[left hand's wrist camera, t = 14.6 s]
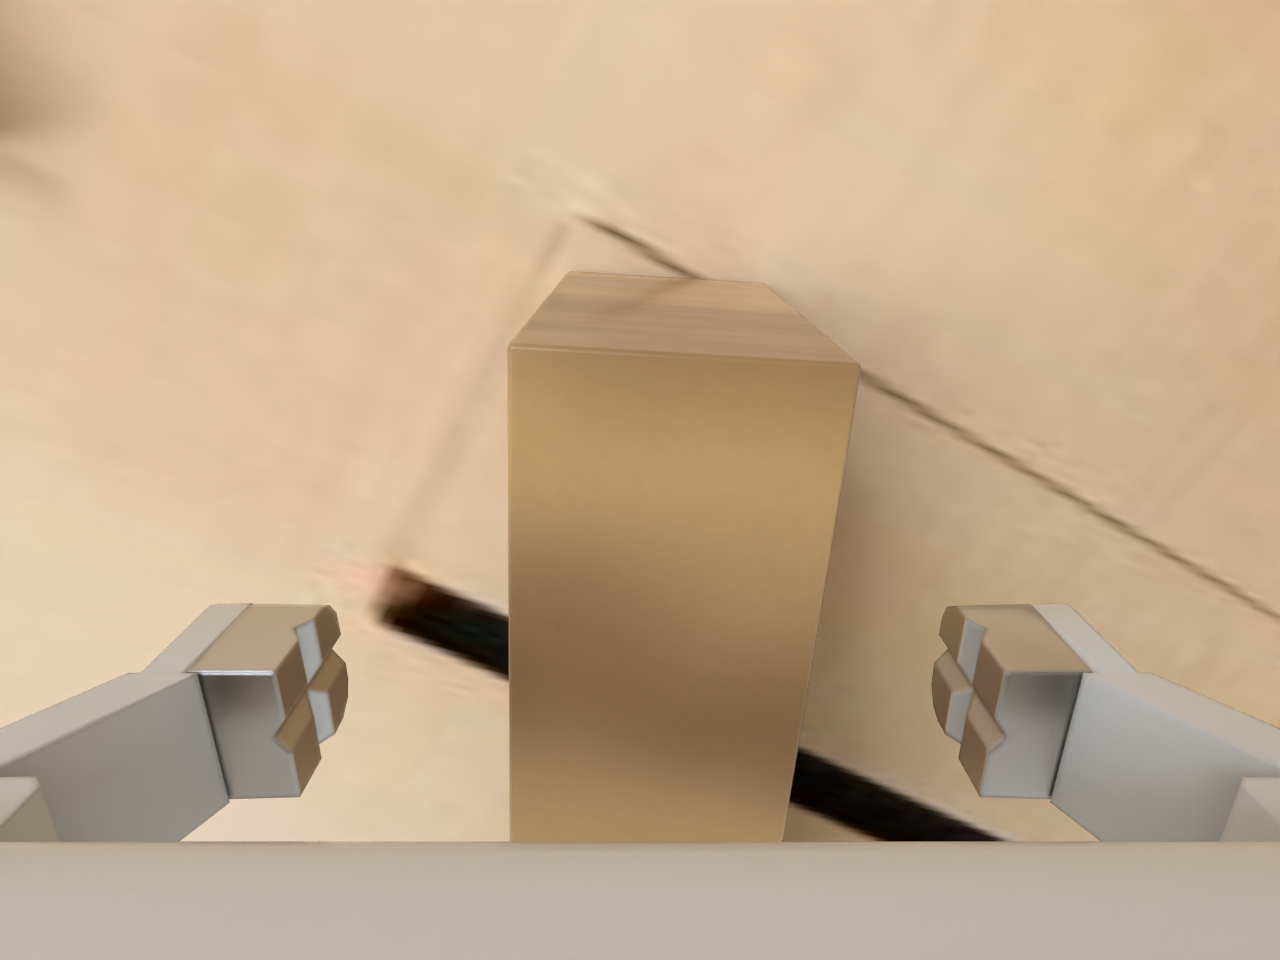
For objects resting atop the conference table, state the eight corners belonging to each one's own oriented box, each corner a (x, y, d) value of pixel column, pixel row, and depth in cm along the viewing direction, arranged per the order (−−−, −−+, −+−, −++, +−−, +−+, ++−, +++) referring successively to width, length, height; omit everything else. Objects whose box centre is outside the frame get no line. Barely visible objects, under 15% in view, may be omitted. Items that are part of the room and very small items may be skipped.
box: (567, 270, 23) (506, 343, 13) (765, 282, 23) (863, 364, 13) (553, 884, 32) (510, 1215, 22) (695, 890, 32) (719, 1223, 22)
